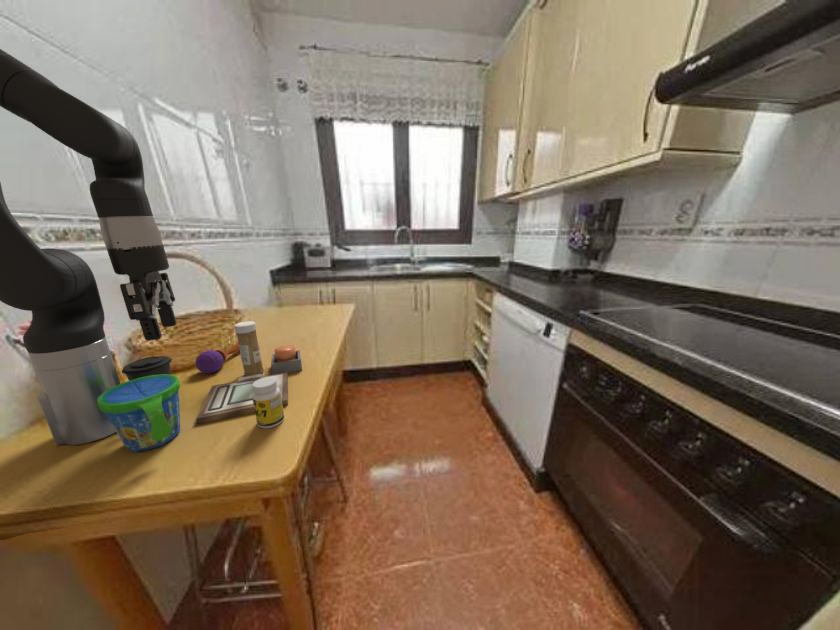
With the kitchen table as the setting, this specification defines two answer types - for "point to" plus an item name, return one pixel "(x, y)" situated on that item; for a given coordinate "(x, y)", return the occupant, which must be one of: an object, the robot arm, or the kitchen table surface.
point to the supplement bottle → (267, 403)
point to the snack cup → (143, 410)
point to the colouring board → (236, 398)
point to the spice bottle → (249, 348)
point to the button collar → (286, 365)
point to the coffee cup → (147, 367)
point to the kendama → (213, 359)
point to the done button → (285, 353)
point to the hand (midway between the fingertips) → (162, 332)
